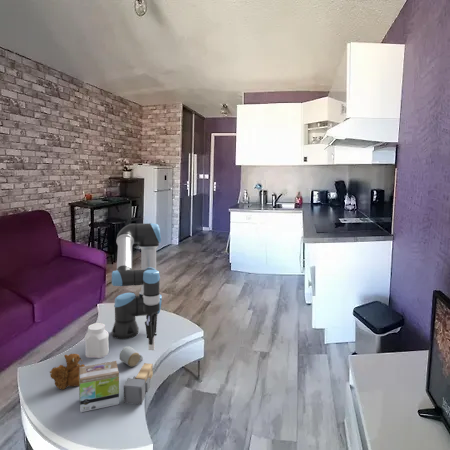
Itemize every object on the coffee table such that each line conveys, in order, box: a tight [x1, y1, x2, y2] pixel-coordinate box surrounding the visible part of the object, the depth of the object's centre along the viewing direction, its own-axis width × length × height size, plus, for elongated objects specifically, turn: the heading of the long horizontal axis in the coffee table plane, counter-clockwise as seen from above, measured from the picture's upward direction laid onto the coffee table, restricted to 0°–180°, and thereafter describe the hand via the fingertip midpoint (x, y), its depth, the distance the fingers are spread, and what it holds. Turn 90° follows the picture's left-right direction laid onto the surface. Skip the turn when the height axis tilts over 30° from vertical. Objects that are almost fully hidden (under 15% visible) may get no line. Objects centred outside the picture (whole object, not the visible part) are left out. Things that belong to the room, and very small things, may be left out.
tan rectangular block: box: [135, 362, 154, 382], centre depth 159 cm, size 12×4×6 cm, turn 174°
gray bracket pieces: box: [123, 375, 151, 405], centre depth 150 cm, size 12×8×8 cm, turn 175°
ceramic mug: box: [118, 345, 144, 367], centre depth 175 cm, size 11×8×8 cm
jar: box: [84, 322, 110, 359], centre depth 181 cm, size 12×10×15 cm
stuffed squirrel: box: [49, 353, 86, 390], centre depth 155 cm, size 10×14×13 cm
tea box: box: [78, 360, 120, 413], centre depth 144 cm, size 15×10×15 cm
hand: (151, 349), depth 169 cm, fingers closed
